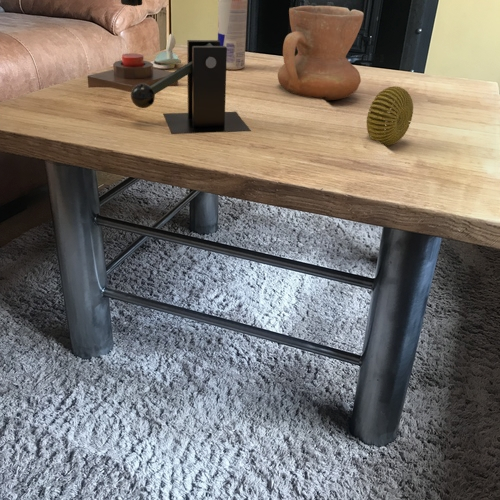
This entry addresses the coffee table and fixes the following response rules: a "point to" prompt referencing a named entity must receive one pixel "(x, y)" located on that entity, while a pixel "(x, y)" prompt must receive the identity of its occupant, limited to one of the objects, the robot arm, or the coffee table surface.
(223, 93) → the switch bracket
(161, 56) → the pacifier
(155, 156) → the coffee table surface
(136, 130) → the coffee table surface
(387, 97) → the sculpture
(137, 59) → the button
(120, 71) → the button block
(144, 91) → the switch lever
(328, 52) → the ceramic jug
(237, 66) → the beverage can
